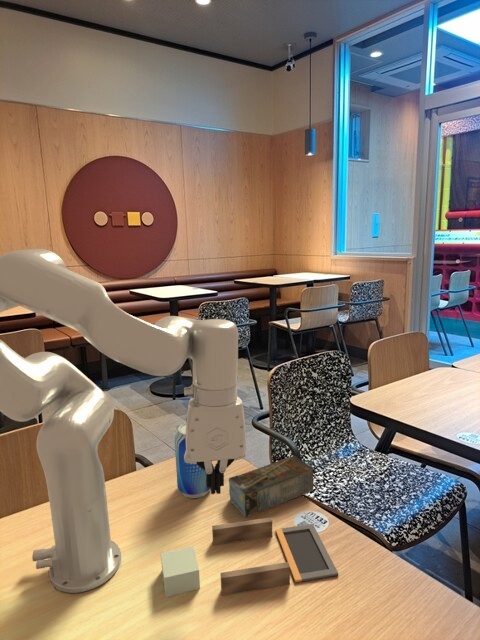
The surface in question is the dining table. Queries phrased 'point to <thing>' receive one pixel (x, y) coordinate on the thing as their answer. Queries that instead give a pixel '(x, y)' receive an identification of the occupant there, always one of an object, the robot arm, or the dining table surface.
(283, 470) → the beverage carton
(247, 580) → the brown parallel walls
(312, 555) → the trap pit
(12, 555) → the dining table surface
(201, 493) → the beer can
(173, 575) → the block
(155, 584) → the dining table surface
